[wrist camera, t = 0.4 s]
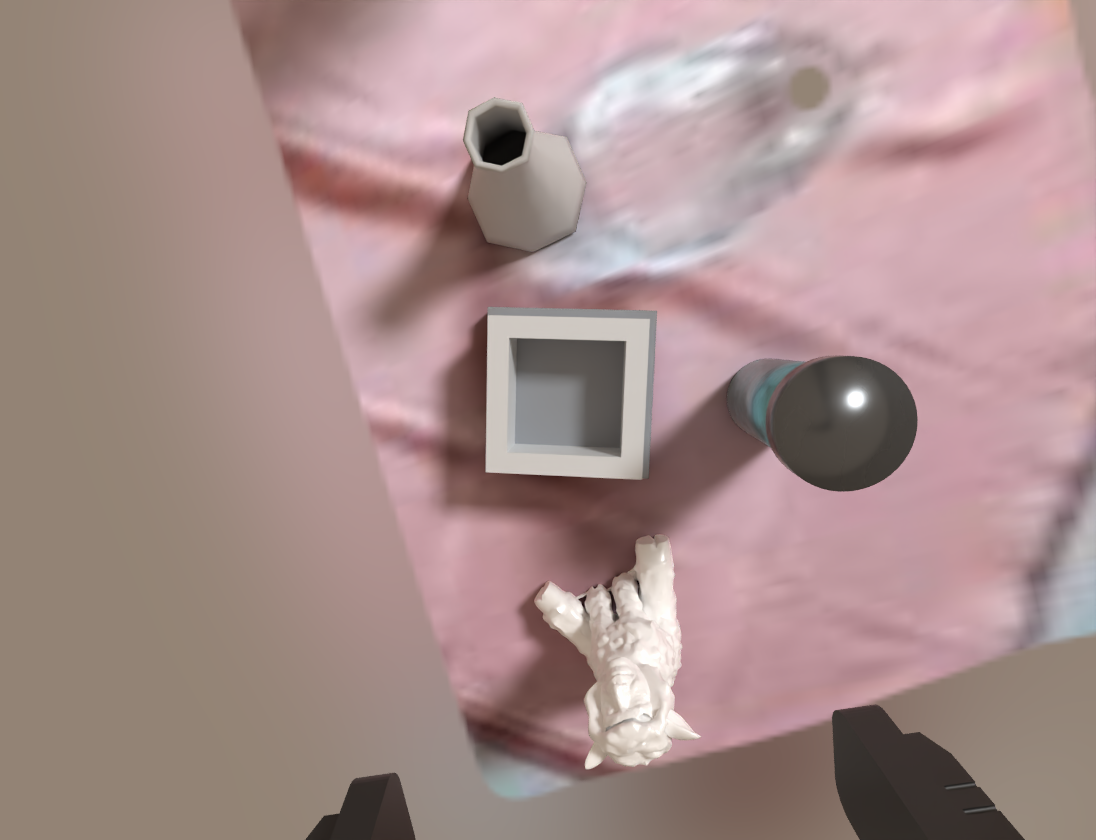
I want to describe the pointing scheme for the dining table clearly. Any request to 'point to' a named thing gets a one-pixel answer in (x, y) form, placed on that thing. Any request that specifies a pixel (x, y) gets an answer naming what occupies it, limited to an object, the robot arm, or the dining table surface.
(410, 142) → the dining table surface
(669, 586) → the seated beast figurine
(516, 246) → the flask
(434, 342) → the dining table surface
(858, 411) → the teal capped jar
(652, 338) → the dock
